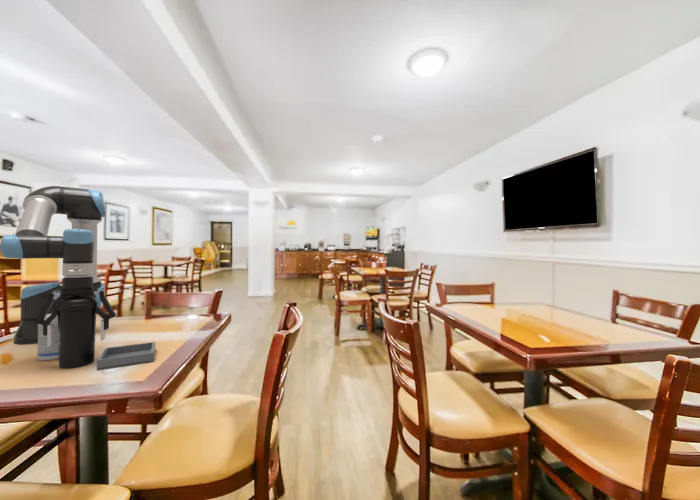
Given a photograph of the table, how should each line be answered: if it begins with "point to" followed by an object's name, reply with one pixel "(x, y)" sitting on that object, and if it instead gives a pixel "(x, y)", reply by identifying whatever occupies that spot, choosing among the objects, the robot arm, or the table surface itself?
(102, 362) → the tray
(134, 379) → the table surface
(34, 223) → the robot arm
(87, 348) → the water bottle
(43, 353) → the supplement tub
